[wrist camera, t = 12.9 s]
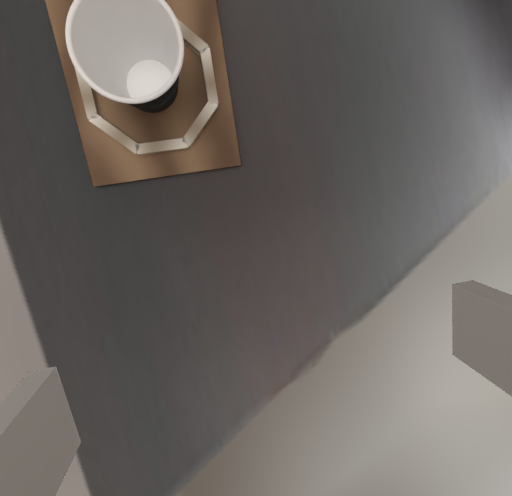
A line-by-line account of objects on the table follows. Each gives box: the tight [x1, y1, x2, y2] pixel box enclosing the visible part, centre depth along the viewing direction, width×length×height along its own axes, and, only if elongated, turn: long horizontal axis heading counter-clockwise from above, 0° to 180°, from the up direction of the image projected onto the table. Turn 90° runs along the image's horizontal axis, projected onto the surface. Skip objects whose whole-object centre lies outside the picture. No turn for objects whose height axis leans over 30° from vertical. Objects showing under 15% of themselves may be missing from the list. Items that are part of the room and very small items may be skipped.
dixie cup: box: [65, 0, 184, 113], centre depth 27 cm, size 8×8×11 cm
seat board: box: [45, 0, 241, 187], centre depth 33 cm, size 16×18×3 cm
